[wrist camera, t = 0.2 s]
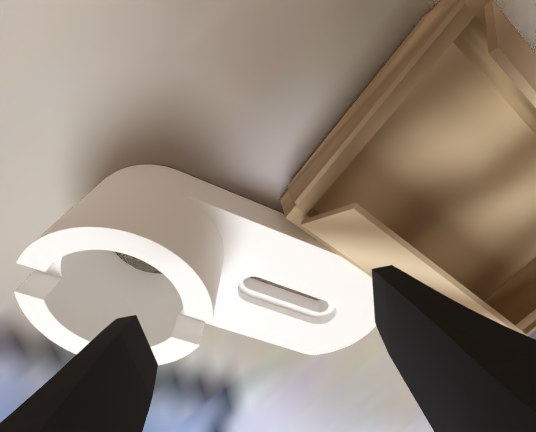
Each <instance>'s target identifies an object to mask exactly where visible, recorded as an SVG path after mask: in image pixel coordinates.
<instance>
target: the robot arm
mask: <svg viewBox="0 0 536 432" xmlns="http://www.w3.org/2000/svg"><path fill="white" fill-rule="evenodd" d="M372 284H373V299H374V315H375V323H376V326H377V328H378V330H379V333H380V335H381V337H382V340H383V342H384V344H385V346H386V349H387V351H388V353H389V355H390V357H391V358H392V360H393V362H394V364H395V365H396V367H397V369H398V371H399V372H400V374H401V376H402V377H403V379H404V381H405V383H406V384H407V386H408V388H409V389H410V391H411V393H412V394H413V396H414V398H415V400H416V401H417V403H418V405H419V406H420V408H421V410H422V411H423V413H424V415H425V417H426V418H427V420H428V422H429V423H430V425H431V427H432V428H433V430H434V432H536V330H535V331H534V332H532V333H531V334H530V335H528V336H526V335H524V334H521V333H519V332H517V331H515V330H513V329H510V328H508V327H506V326H504V325H502V324H500V323H498V322H496V321H493V320H491V319H489V318H487V317H485V316H483V315H481V314H479V313H477V312H475V311H473V310H471V309H469V308H467V307H466V306H464V305H462V304H460V303H458V302H456V301H454V300H452V299H451V298H449V297H447V296H445V295H443V294H441V293H440V292H438V291H436V290H434V289H433V288H431V287H429V286H427V285H426V284H424V283H422V282H421V281H419V280H417V279H415V278H414V277H412V276H410V275H409V274H407V273H405V272H403V271H402V270H400V269H398V268H396V267H394V266H393V265H389V266H384V267H379V268H374V269H372ZM157 366H158V363H157V361H156V359H155V356H154V354H153V352H152V350H151V347H150V345H149V343H148V341H147V338H146V336H145V334H144V331H143V329H142V327H141V325H140V322H139V320H138V318H137V316H136V315H132V316H127V317H122V318H117V319H115V320H114V321H113V322H112V323H110V324H109V325H108V326H107V327H106V328H105V329H104V330H102V331H101V332H100V333H99V334H98V335H97V336H96V337H95V338H94V339H93V340H92V341H91V342H90V343H88V344H87V345H86V346H85V347H84V348H83V349H82V350H81V351H80V352H79V353H78V354H77V355H76V356H75V357H74V358H72V359H71V360H70V361H69V362H68V363H67V364H66V365H65V366H64V367H63V368H62V369H61V370H60V371H59V372H57V373H56V374H55V375H54V376H53V377H52V378H51V379H50V380H49V381H48V382H46V383H45V384H44V385H43V386H42V387H41V388H40V389H39V390H37V391H36V392H35V393H34V394H33V395H32V396H31V397H30V398H28V399H27V400H26V401H25V402H24V403H23V404H22V405H20V406H19V407H18V408H17V409H16V410H15V411H14V412H13V413H11V414H10V415H9V416H8V417H7V418H6V419H4V420H3V421H2V422H1V423H0V432H142V430H143V427H144V424H145V421H146V417H147V414H148V410H149V407H150V404H151V400H152V395H153V390H154V385H155V379H156V373H157Z"/></svg>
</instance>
